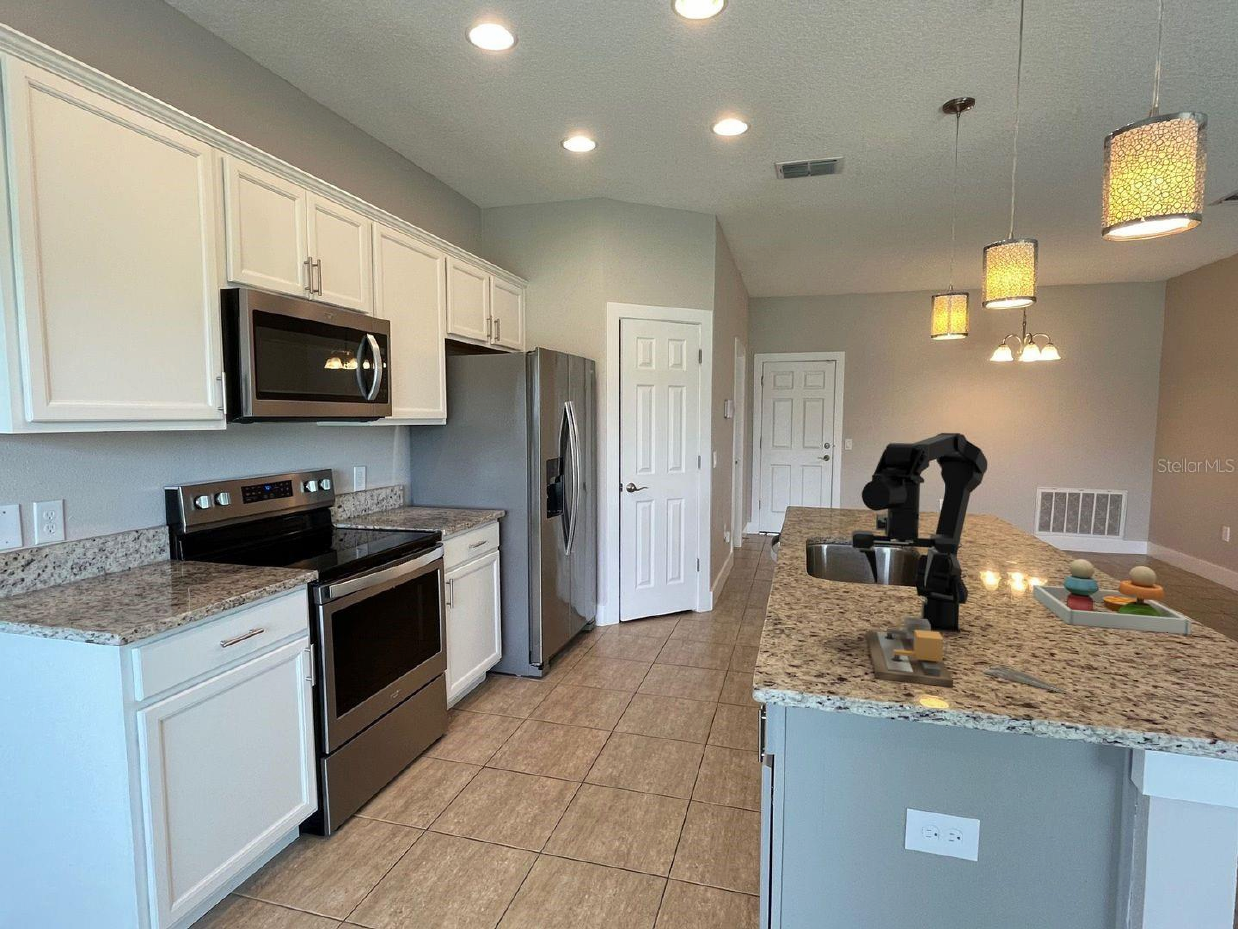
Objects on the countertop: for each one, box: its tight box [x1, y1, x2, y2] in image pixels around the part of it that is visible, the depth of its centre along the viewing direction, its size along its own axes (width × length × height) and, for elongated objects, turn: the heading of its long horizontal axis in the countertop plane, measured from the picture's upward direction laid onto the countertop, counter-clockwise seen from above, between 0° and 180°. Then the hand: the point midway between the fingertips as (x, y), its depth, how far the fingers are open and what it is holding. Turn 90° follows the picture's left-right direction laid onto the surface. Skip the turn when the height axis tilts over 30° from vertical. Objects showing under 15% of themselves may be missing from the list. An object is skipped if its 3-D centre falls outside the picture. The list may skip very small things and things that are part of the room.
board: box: [865, 616, 954, 688], centre depth 116 cm, size 12×22×5 cm, turn 162°
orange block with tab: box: [894, 630, 944, 662], centre depth 111 cm, size 8×4×5 cm, turn 72°
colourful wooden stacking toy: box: [1062, 558, 1166, 617], centre depth 145 cm, size 18×17×12 cm
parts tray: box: [1032, 584, 1192, 635], centre depth 144 cm, size 22×23×3 cm
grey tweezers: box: [982, 664, 1081, 698], centre depth 104 cm, size 18×5×2 cm, turn 37°
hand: (900, 584), depth 124 cm, fingers open, 9 cm apart
